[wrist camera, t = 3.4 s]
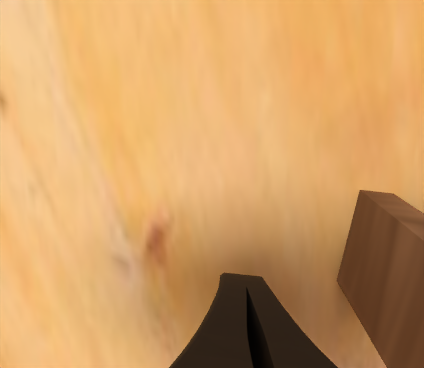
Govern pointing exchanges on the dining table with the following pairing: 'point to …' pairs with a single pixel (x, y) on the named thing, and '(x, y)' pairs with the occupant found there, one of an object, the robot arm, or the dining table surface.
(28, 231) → the dining table surface
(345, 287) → the domino
